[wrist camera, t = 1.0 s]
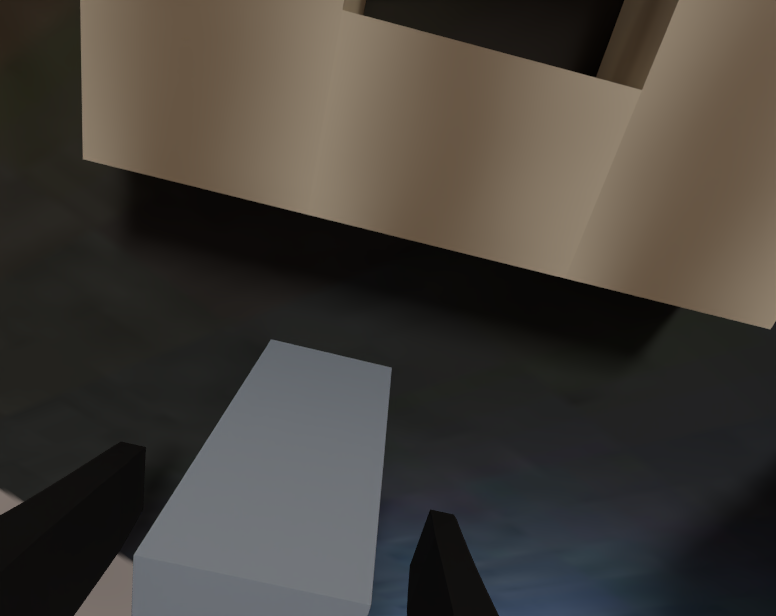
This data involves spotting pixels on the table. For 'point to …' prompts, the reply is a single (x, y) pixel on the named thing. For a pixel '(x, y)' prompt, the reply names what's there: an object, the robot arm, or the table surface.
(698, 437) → the table surface
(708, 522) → the table surface
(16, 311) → the table surface
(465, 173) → the socket plate
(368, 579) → the peg
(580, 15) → the table surface
